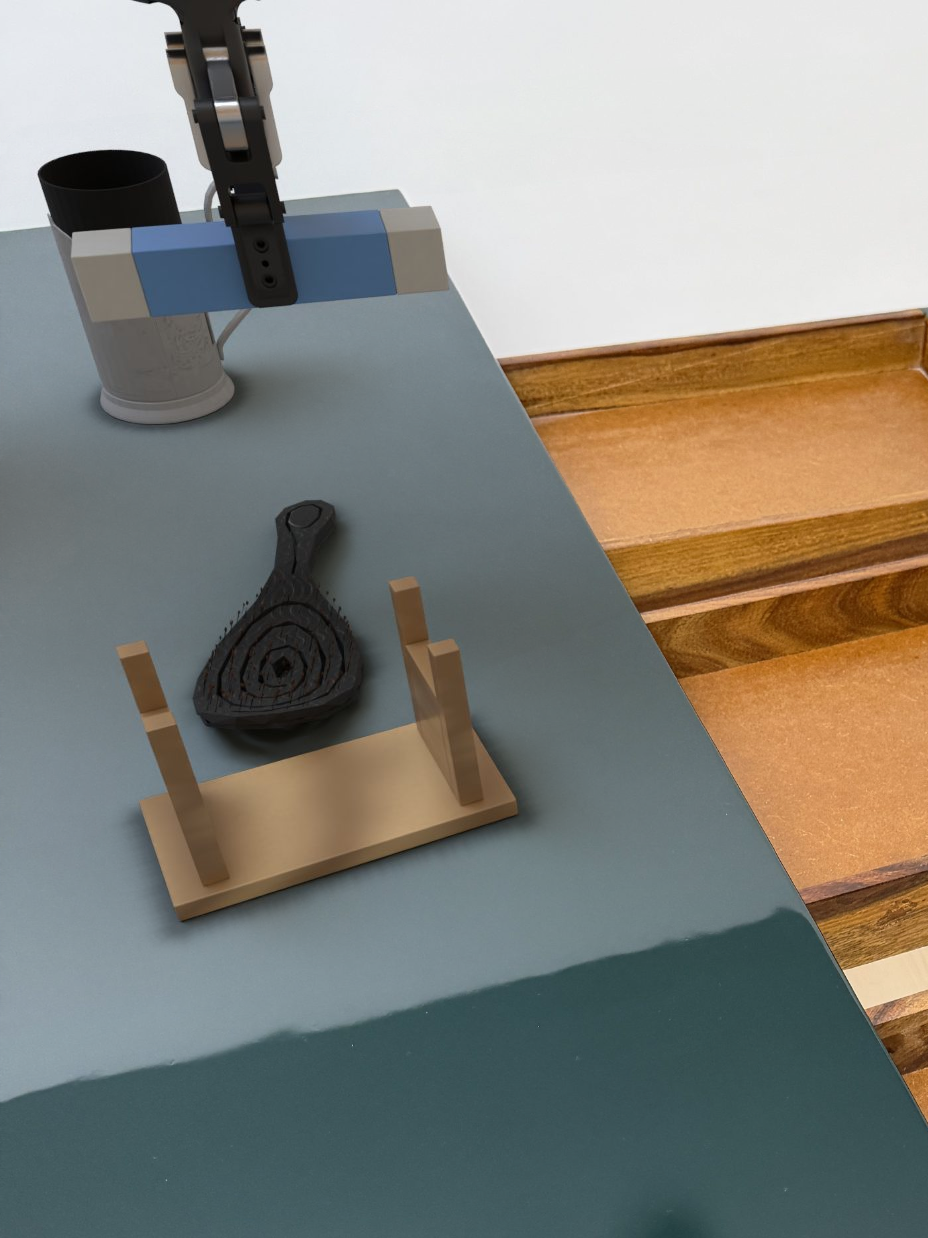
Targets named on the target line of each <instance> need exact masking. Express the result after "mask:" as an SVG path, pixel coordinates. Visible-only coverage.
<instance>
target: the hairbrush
mask: <svg viewBox="0 0 928 1238" xmlns="http://www.w3.org/2000/svg"><path fill="white" fill-rule="evenodd" d="M336 516H337V515H336V509H335V505H333V504H331V503H329V502H327V501H324V500H322V499H305V500H303V501H299V502H297V503H294V504H291V505H288V506H286V507H284V508H283V509H282V510H281V511H280V512H279V514H278V515H277V516H276V517H275V518H274V522H275V528H276V536H277V541H276V547H275V558H274V565H273V569H272V571H271V573H270V574H269V576H268V578H267V580H266V582H265V583H264V586H263V587H262V586H261V587H260V590H259V591H260V592H259V594H258V593H255V597H256V599H255V601H254V602H253V603H252V604H251V606H249V601H248V600H246V601H245V603H244V602H242V609H245V612H244V610H242V611H240V610H237V619H236V623H235V624H234V620H233V619H231V620H230V621H229V625H230V630H229V631H228V628H227V626H225V627H224V629H223V630H224V634H223V635H224V636H223V637H222V635H219V636H218V638H219V641H218V643H215V646H214V647H215V648H214V649H212V650H211V655H210V657H209V658H208V660H207V662H206V663H205V665H204V666H203V668H202V670H201V672H200V674H199V675H198V677H197V679H196V684H195V687H194V690H193V691H194V692H193V695H192V702H193V707H194V710H195V713H196V715H198V716H199V718H200V720H201V721H202V722H203V724H204V726H205V727H209V728H210V727H211V728H218V729H226V730H232V731H233V730H234V731H238V730H241V731H242V730H263V729H281V728H284V727H289V726H295V725H299V724H304V723H309V722H314V721H318V720H319V721H320V720H324V719H327V718H329V717H331V716H333V715H334V714H336V713H337V712H339V711H341V710H343V709H344V708H346V707H348V706H349V705H351V704H352V703H354V702H355V701H357V700H358V696H359V691H360V686H361V683H362V674H363V670H364V663H363V660H362V656H361V651H360V649H359V647H358V645H357V643H356V640H355V637H354V636H353V630H351V629H350V623H349V620H346V619H347V616H346V615H343V617H342V616H341V615H340V614H341V611H342V606H341V605H339V606H338V611H337V610H336V609H335V608H334V606H333V605H334V603H335V601H336V598H335V597H333V598H332V601H333V604H331V603H330V602H329V601H328V600H327V598H326V597H325V596H324V595H323V594H322V592H321V591H320V587H321V583H320V582H319V583H317V582H316V580H315V578H314V576H313V574H312V573H313V569H314V567H315V564H316V560H317V556H318V552H319V550H320V547H321V546H322V544H323V543H324V542H325V541H326V540H327V538H328V537H329V536H330V535H331V533H332V532H333V531H334V530H335V529H336V528H337V527H336V526H337V523H336V521H337V519H336ZM295 545H296V548H297V551H296V548H295ZM325 593H326V595H327V596H328V595H329V593H330V592H329V591H327V590H326V592H325ZM245 606H246V607H245ZM248 606H249V608H248ZM241 612H242V613H241ZM243 612H244V613H243ZM240 614H242V615H241V617H240ZM239 617H240V618H239ZM233 624H234V625H233ZM337 640H338V641H337ZM338 643H339V644H340V647H341V650H342V652H343V655H344V660H343V656H342V653H341V651H340V648H339V645H338ZM321 655H323V657H324V658H325V662H324V663H325V664H324V663H323V659H322V656H321ZM305 667H306V668H307V669H306V670H305ZM283 670H285V671H284V673H285V675H286V676H285V677H282V675H283ZM288 671H289V672H288ZM279 676H280V677H279Z"/></svg>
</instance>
